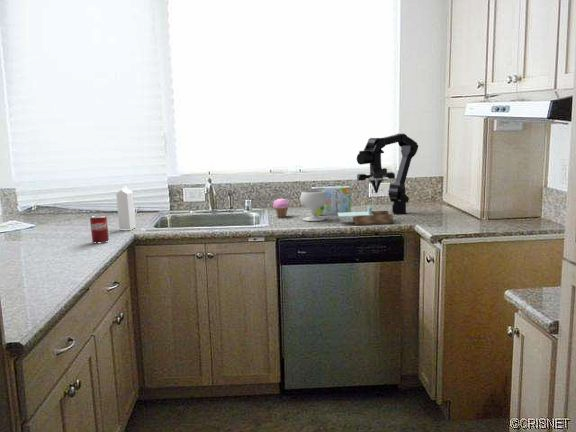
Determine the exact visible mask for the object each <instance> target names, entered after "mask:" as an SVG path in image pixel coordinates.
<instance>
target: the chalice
mask: <svg viewBox="0 0 576 432" xmlns="http://www.w3.org/2000/svg"><path fill="white" fill-rule="evenodd" d="M299 199H300V200H299V201H300V203H301V205H302V206H303V207H306V208H308V209H309V211H310V212H311V216H307V217H304V218H303V219H302V220H303V221H306V222H321V221H325V220H327V218H326V217H325V216H320V215H316V211H317V210H318V209H319V208H320V207H322V206H323V205H325V204H326V202H327V194H326V192H325V191H324V190H311V189H306V190H302V191H301V193H300V198H299ZM312 213H313V214H312Z"/></svg>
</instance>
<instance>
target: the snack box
mask: <svg viewBox="0 0 576 432" xmlns="http://www.w3.org/2000/svg"><path fill="white" fill-rule="evenodd" d="M310 190H324V191H325V192H326V194H327V202H326V204H325V205H323V206H322V207H320V208H319V209H318V210H317V211H316V215H317V216H332V215H333V216H334V215H336V216H338V214H337V213H343V212H352V204H351V203H352V202H351V185H344V186H343V185H342V186H341V185H339V186H314V187H313V186H312V187H311V188H310ZM312 214H313V213H312V212H311V215H312Z"/></svg>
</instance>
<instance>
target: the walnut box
mask: <svg viewBox="0 0 576 432" xmlns="http://www.w3.org/2000/svg"><path fill="white" fill-rule="evenodd" d="M365 212H367V210H366V211H365ZM372 213H373V214H374V215H365V216H356V217H352V222H353V224H355V226H374V225H377V226H378V225H393V224H394V213H393V214H390V212H389V210H372Z"/></svg>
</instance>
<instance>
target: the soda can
mask: <svg viewBox="0 0 576 432" xmlns="http://www.w3.org/2000/svg"><path fill="white" fill-rule="evenodd" d="M89 221H90V222H89V224H90V232H91V233H90V234H91V241H92V243H93V242H96V243H98V242H106V241H108V240H109V241H110V238H109V231H108V230H109V229H108V218H107V216H106V215H103V214H97V215H93V216H90V218H89ZM109 241H108V242H109ZM106 243H107V242H106Z"/></svg>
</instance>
